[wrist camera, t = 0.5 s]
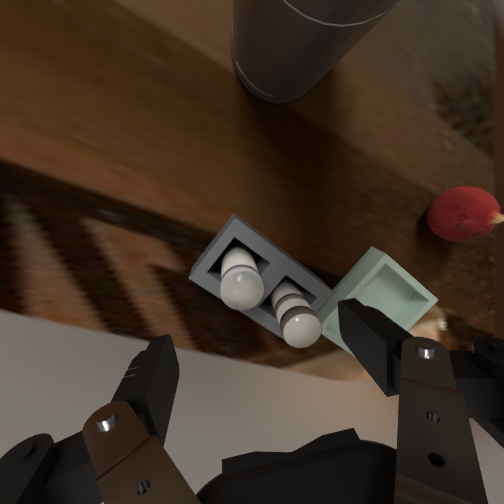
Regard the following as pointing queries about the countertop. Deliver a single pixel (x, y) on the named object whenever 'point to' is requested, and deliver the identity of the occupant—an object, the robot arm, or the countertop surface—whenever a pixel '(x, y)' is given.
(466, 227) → the onion
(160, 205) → the countertop surface
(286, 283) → the cylinder
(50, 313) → the countertop surface
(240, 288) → the ball
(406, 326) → the parts tray
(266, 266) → the block
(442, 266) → the countertop surface
